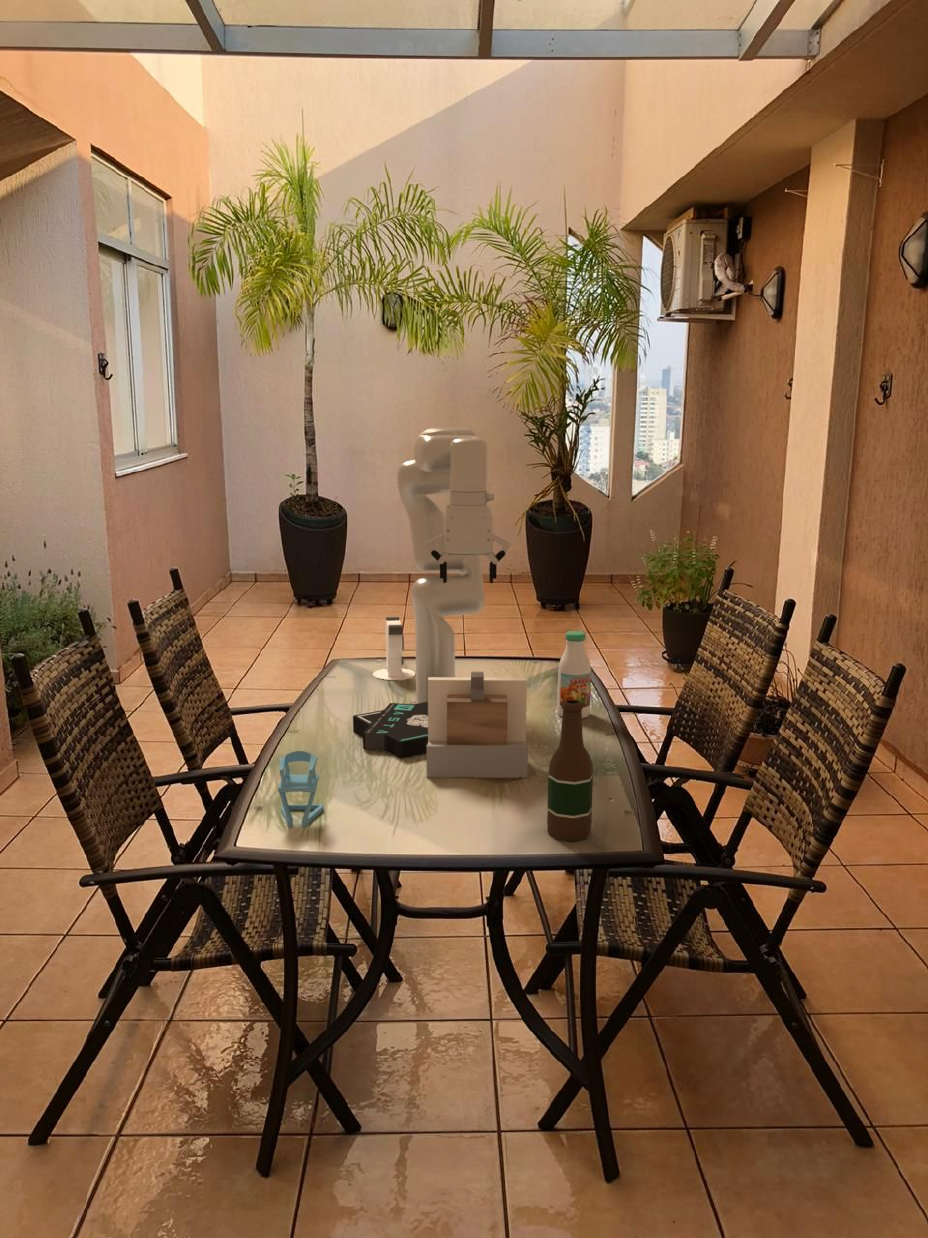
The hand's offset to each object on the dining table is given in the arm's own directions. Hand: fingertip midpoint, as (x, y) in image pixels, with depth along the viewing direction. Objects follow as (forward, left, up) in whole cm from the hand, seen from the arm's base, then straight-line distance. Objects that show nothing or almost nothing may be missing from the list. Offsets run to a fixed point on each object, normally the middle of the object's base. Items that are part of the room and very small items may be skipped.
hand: (468, 582), depth 221 cm
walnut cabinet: (+13, +2, -31) cm, 34 cm away
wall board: (+13, +2, -36) cm, 39 cm away
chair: (+38, -30, -36) cm, 61 cm away
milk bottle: (-24, +25, -36) cm, 50 cm away
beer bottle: (+44, +18, -36) cm, 60 cm away
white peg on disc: (-58, -20, -36) cm, 71 cm away
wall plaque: (-8, -11, -37) cm, 39 cm away
